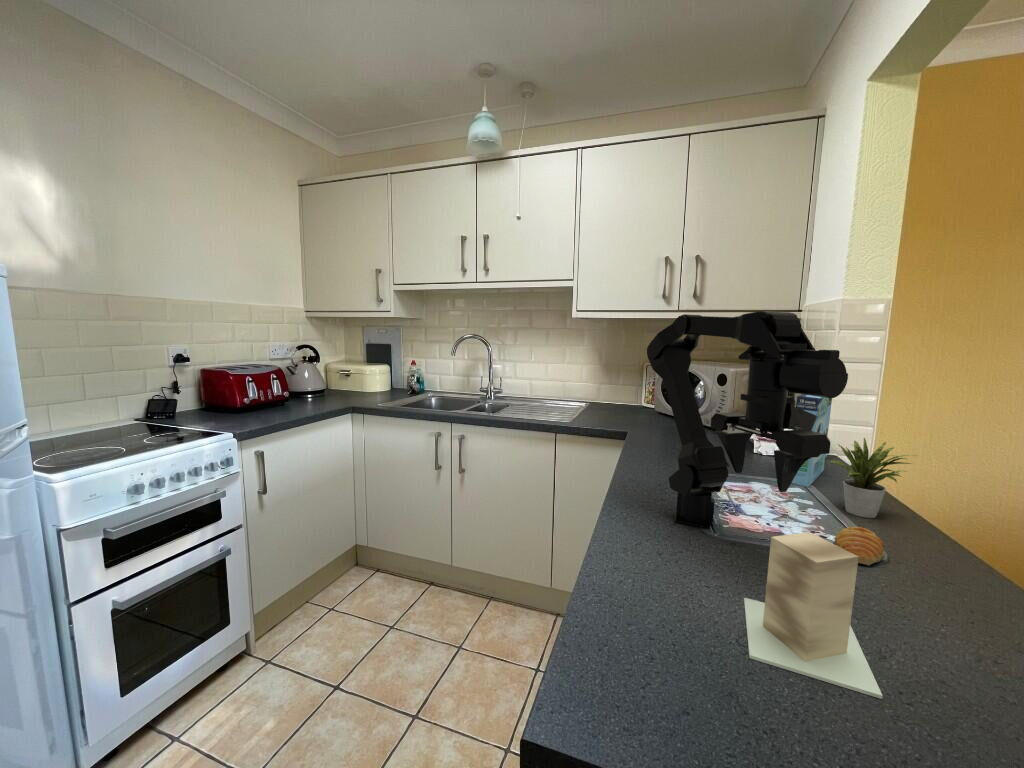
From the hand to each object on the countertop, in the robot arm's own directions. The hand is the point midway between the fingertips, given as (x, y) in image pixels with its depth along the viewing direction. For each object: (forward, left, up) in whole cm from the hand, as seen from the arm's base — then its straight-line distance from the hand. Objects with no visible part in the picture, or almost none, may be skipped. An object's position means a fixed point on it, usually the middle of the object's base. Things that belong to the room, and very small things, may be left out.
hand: (759, 481), depth 70 cm
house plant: (+22, +30, -13) cm, 40 cm away
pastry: (+17, +10, -14) cm, 24 cm away
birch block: (+4, -21, -13) cm, 25 cm away
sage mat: (+4, -21, -13) cm, 25 cm away
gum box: (+16, +54, -13) cm, 58 cm away
